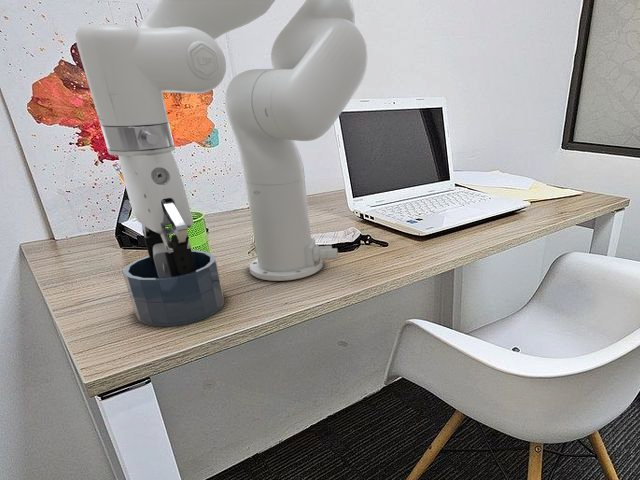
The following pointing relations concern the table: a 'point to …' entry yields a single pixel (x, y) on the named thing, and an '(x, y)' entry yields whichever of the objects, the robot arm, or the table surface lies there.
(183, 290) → the pot
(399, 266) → the table surface
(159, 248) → the usb wall charger
